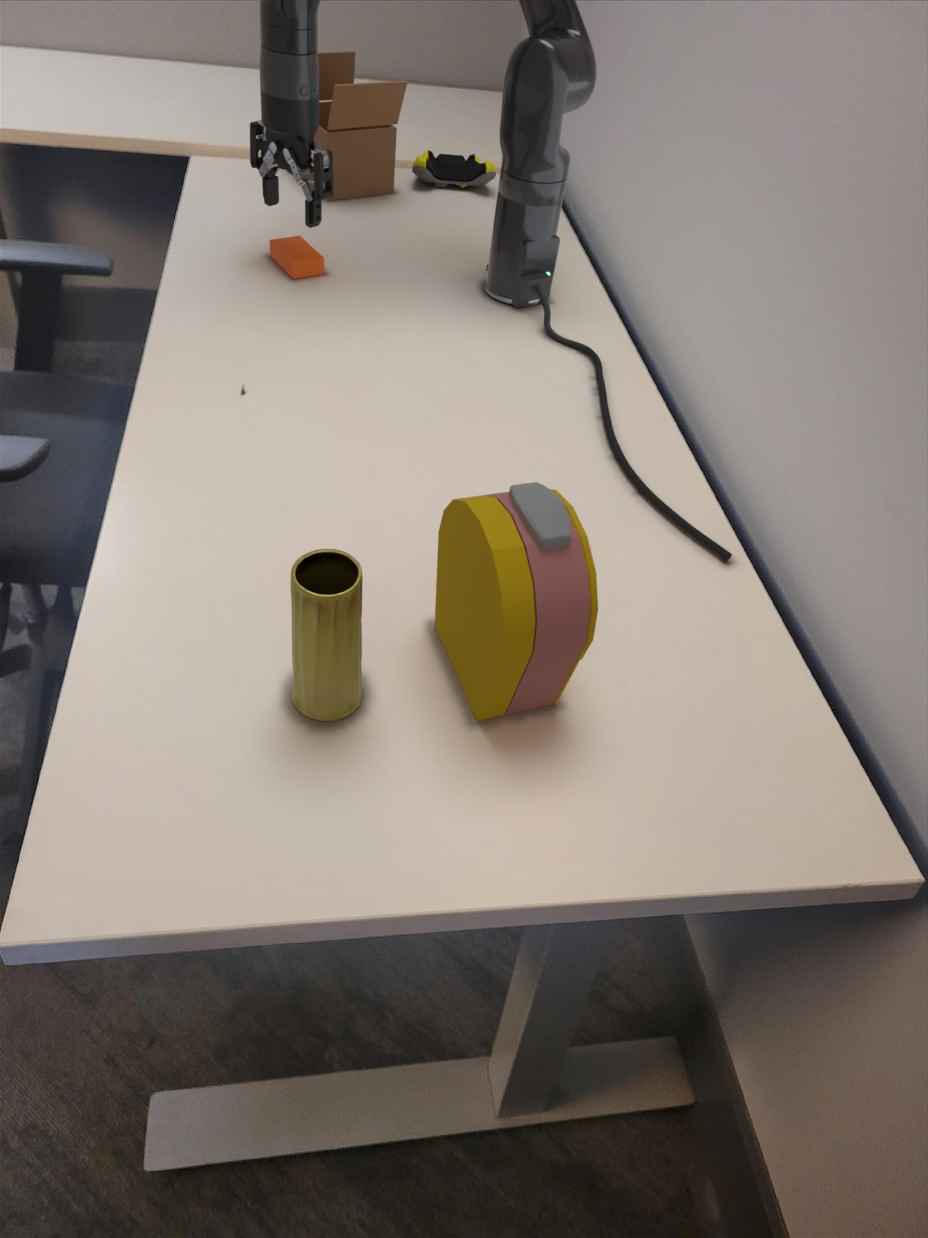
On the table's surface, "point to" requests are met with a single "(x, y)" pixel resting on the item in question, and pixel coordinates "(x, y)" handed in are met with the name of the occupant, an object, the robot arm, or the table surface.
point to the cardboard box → (353, 138)
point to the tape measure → (514, 597)
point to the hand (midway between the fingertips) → (291, 214)
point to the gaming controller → (453, 169)
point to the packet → (297, 257)
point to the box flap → (366, 104)
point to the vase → (326, 634)
